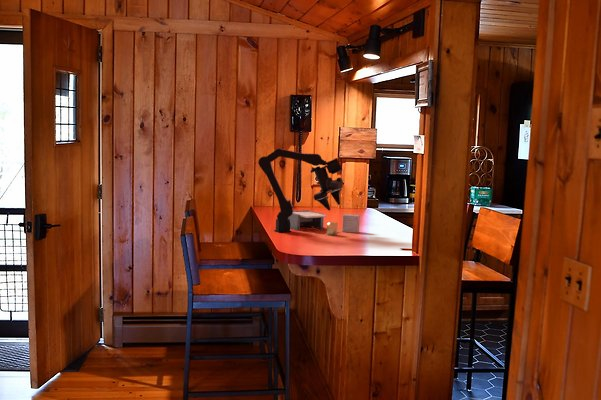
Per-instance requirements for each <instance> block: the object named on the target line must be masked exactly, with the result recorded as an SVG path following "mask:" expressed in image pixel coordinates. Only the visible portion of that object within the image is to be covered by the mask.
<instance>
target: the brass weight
mask: <svg viewBox="0 0 601 400" xmlns="http://www.w3.org/2000/svg"><path fill="white" fill-rule="evenodd" d="M326 236H328V237H329V236H330V237H335V236H338V222H334V221H329V222H326Z"/></svg>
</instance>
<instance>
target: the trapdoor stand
mask: <svg viewBox="0 0 601 400" xmlns="http://www.w3.org/2000/svg"><path fill="white" fill-rule="evenodd" d="M293 212H315V213H319V214H323V215H325V214H324V213H321V212H317V211H313V210H306V209H305V210H293ZM324 218H325V217H316V218H313V220H312V221H308V222H300V215H299V214H295V213H292V215H291V216H290V217H288V219H290V230H294V231H300V227H303V226H304V227H305V226H308V227H311V228H315V229H317V230H318V229H319V230H323V229H324V220H325V219H324Z"/></svg>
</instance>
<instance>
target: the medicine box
mask: <svg viewBox="0 0 601 400" xmlns="http://www.w3.org/2000/svg"><path fill="white" fill-rule="evenodd" d="M341 229H342V230H341V231H342V233H353V234H358V233H359V232H360V214H349V213H348V214H346V213H345V214H343V215H342V228H341Z"/></svg>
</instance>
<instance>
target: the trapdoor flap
mask: <svg viewBox="0 0 601 400" xmlns="http://www.w3.org/2000/svg"><path fill="white" fill-rule="evenodd" d="M315 212H316V211H313V212H293V213H295V214H299V215H300V222H308V221H312V220H313V218H316V217H324V218H328V215H326V214H324V213H322V214H319V213H320V212H318V213H315ZM323 214H324V215H323Z"/></svg>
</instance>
